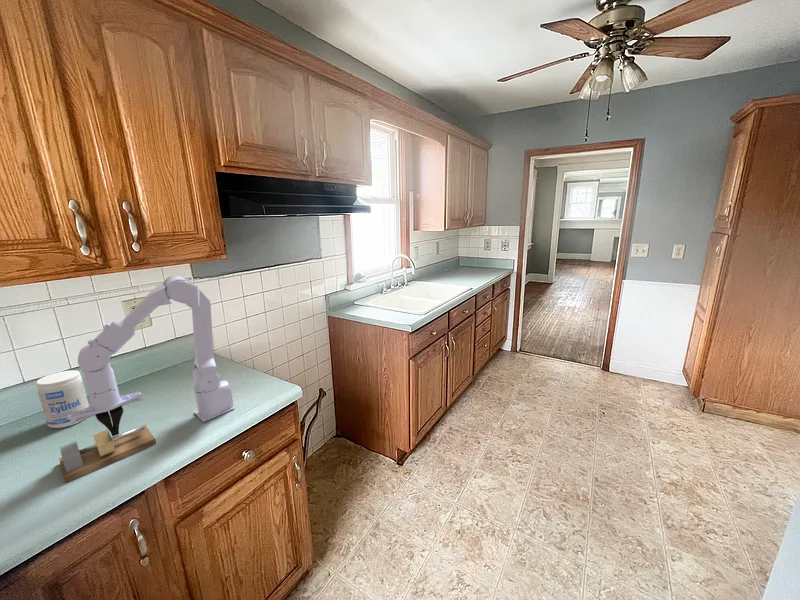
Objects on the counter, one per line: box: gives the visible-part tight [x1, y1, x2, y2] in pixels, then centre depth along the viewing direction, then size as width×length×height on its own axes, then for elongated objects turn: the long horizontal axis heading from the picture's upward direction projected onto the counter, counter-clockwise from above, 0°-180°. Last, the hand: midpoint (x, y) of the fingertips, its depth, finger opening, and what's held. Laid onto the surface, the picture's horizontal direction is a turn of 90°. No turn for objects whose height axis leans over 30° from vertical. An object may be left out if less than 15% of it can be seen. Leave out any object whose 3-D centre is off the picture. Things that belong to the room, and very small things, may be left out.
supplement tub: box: [35, 369, 90, 429], centre depth 100 cm, size 10×10×15 cm
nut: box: [92, 429, 116, 457], centre depth 86 cm, size 3×7×3 cm, turn 49°
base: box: [58, 424, 157, 484], centre depth 87 cm, size 18×10×5 cm, turn 139°
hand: (115, 433), depth 89 cm, fingers closed
